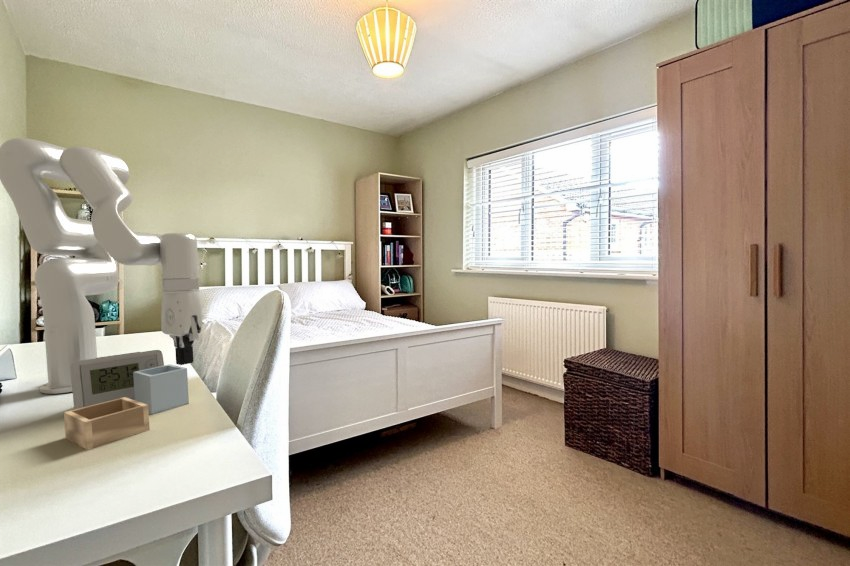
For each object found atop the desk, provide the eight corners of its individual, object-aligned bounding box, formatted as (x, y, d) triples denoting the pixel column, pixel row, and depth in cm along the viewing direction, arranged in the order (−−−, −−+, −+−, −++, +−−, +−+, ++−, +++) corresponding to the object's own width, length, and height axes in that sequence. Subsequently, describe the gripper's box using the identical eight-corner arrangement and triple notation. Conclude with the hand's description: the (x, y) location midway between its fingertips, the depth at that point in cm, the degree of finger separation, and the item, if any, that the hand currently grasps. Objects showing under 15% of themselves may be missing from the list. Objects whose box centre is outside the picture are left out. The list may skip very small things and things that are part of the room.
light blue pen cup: (135, 411, 85) (133, 371, 85) (171, 400, 91) (169, 364, 91) (152, 417, 81) (149, 376, 81) (189, 406, 87) (186, 368, 87)
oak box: (65, 441, 71) (63, 412, 71) (126, 423, 79) (124, 396, 78) (87, 453, 66) (85, 422, 66) (149, 433, 74) (148, 405, 73)
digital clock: (70, 420, 81) (66, 365, 81) (77, 407, 89) (74, 357, 88) (168, 403, 90) (165, 353, 89) (167, 392, 97) (165, 347, 97)
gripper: (147, 286, 100) (152, 363, 101) (181, 287, 92) (185, 371, 93) (180, 284, 106) (184, 357, 107) (214, 285, 98) (218, 363, 99)
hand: (184, 363), depth 100 cm, fingers closed
